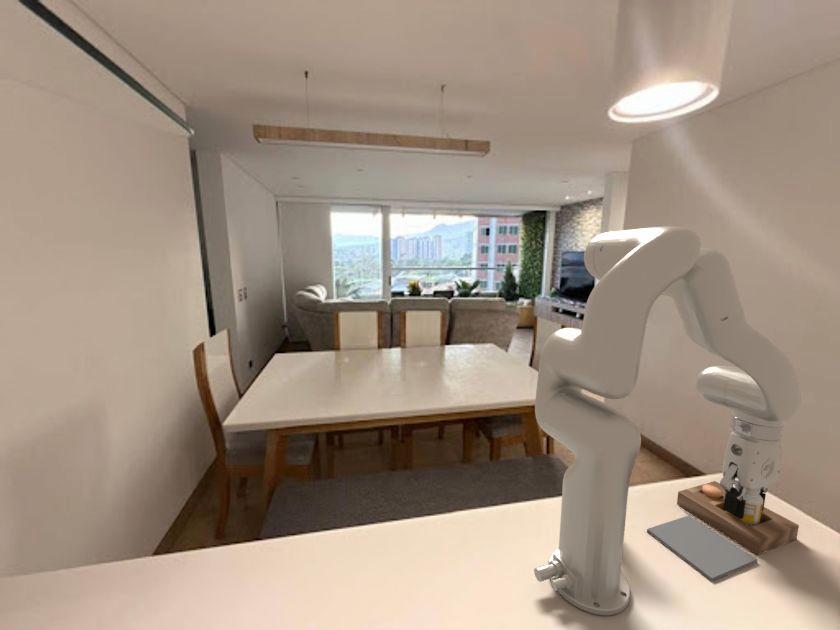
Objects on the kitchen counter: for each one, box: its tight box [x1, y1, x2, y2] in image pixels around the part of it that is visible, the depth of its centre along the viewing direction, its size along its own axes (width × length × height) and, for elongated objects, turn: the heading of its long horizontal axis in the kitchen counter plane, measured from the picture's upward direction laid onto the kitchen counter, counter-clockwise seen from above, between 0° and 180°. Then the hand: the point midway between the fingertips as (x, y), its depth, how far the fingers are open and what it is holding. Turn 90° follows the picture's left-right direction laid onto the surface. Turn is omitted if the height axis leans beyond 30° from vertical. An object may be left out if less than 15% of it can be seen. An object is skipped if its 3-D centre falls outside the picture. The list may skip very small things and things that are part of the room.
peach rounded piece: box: [702, 484, 721, 501], centre depth 79 cm, size 3×3×4 cm
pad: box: [646, 515, 758, 582], centre depth 68 cm, size 12×12×1 cm
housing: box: [676, 480, 800, 556], centre depth 75 cm, size 12×15×3 cm
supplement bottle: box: [725, 478, 763, 527], centre depth 73 cm, size 5×5×10 cm
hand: (743, 509), depth 73 cm, fingers closed on supplement bottle, 5 cm apart
